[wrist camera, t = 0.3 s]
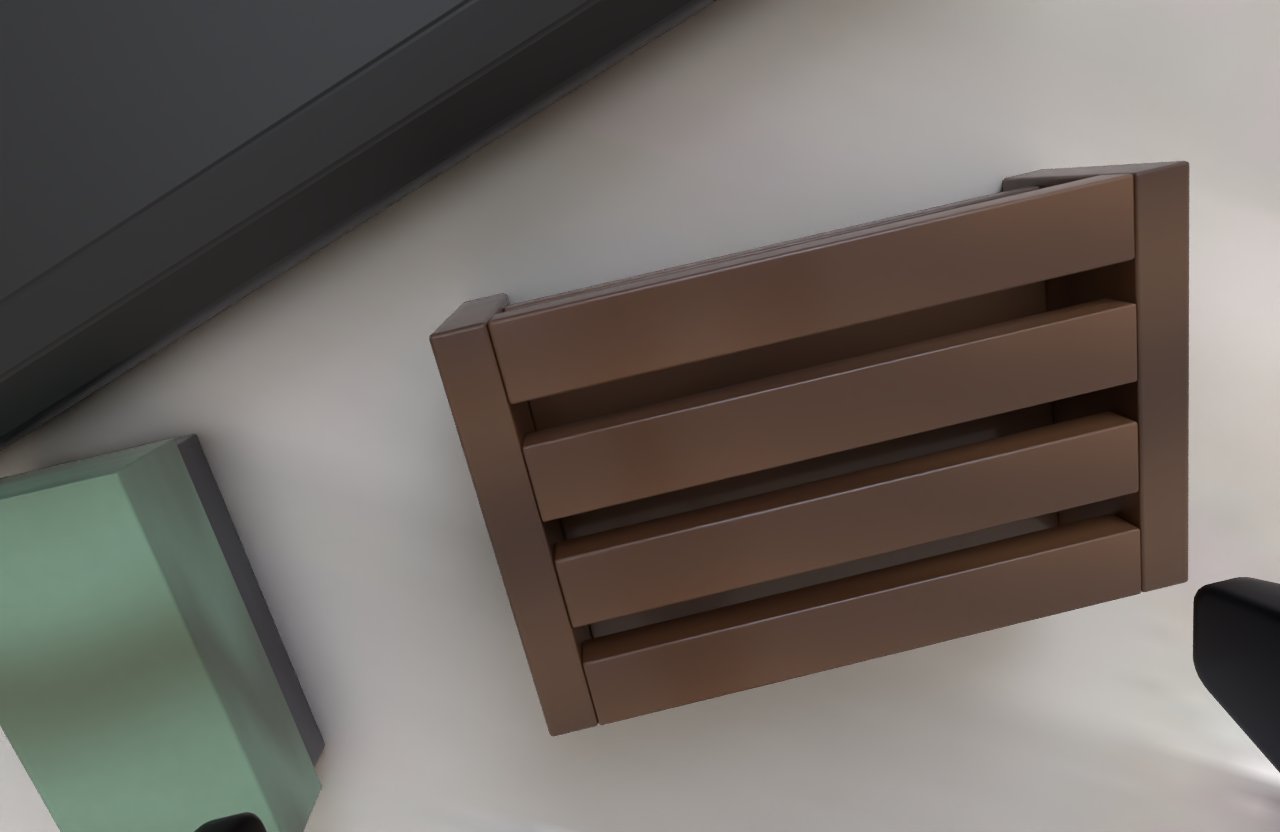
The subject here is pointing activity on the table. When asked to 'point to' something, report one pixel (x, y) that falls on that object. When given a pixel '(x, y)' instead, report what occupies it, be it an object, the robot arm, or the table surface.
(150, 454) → the green rectangular block
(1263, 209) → the table surface
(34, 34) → the dark leather journal
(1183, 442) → the rack
